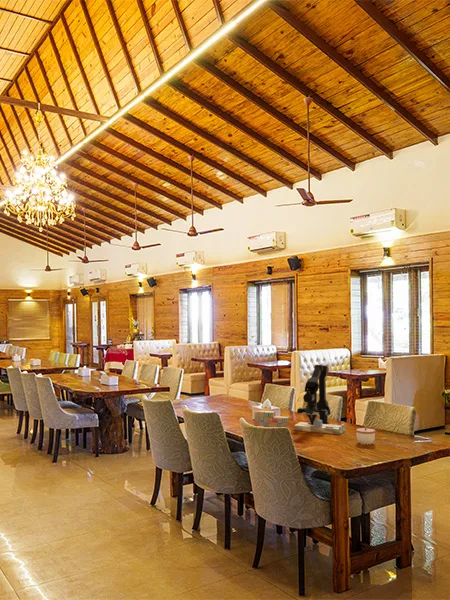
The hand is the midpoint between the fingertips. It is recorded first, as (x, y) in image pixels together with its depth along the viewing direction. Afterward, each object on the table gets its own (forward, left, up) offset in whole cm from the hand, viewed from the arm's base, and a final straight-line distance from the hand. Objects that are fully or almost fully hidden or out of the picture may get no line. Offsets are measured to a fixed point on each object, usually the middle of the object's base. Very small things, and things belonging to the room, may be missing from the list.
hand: (312, 425), depth 357 cm
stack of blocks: (+12, -23, -4) cm, 26 cm away
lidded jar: (+21, +38, -4) cm, 43 cm away
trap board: (-3, +4, -4) cm, 6 cm away
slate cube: (0, +4, 0) cm, 4 cm away
